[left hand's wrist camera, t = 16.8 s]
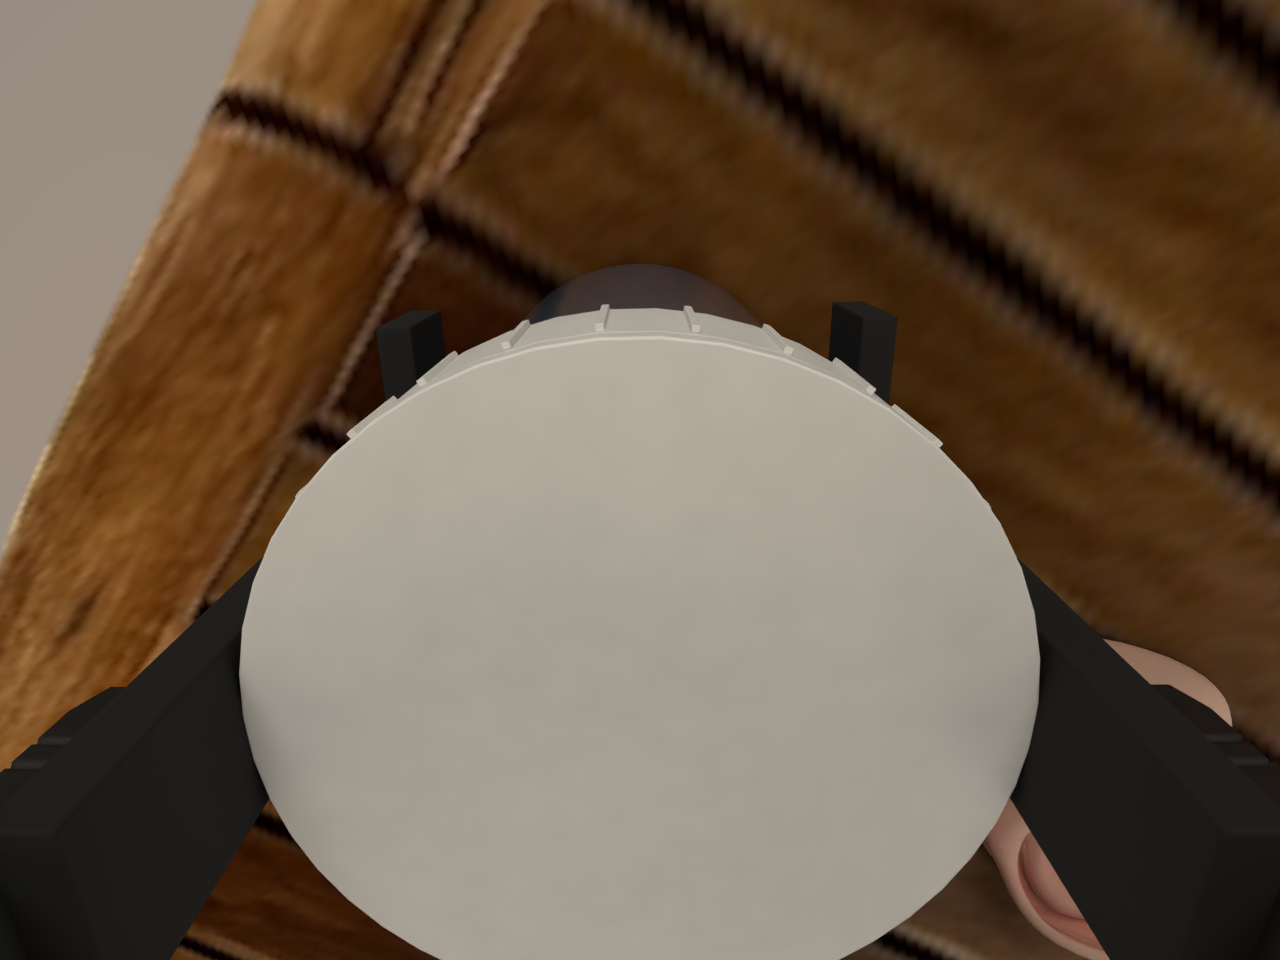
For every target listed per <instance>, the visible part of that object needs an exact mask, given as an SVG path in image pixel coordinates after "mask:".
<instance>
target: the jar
mask: <svg viewBox="0 0 1280 960" xmlns="http://www.w3.org/2000/svg"><path fill="white" fill-rule="evenodd" d="M606 304H609V307H610V309H646V308H659V309H668V310H677V311H683V310H684V306H691V307H692V309H693V311H694V312H695V313H704V314H709V315H713V316H717V317H721V318H725V319H729V320H733V321H737V322H741V323H745V324H749V325H753V326H756V327H759V328H761V329H762V327H763V325H762V324H761V323H760V322H759V321H758V320H757V319H756V318H755V317H754V316H753V315H752V314H751V313H750V312H749V311H748V310H747V309H746V307H745V306H744V305H743V304H742V303H741V302H740V301H738V300H737V299H736V298H734V297H733V296H732V295H731V294H729V293H728V292H727V291H725V290H724V289H723V288H721V287H719V286H717V285H716V284H714V283H712V282H710V281H709V280H707V279H705V278H702V277H700V276H698V275H695V274H693V273H690V272H688V271H684V270H680V269H676V268H672V267H669V266H661V265H653V264H625V265H619V266H612V267H606V268H603V269H599V270H596V271H593V272H589V273H586V274H584V275H582V276H580V277H577V278H575V279H573V280H571V281H569V282H567V283H565V284H564V285H562V286H560V287H559V288H557V289H556V290H554V291H553V292H551V293H550V294H549V295H547V296H546V297H545V298H544V299H543V300H541V301H540V302H539V303H538V304H537V305H536V306H535V307H534V308H533V309H532V310H531V311H530V312H529V313H528V314H527V315H526V316H525V317H524V318H523V319H522V320H521V321H520V322H519V323H518V324H517V325H516V326H515V327H514V328H513V329H512V330H514V329H515V328H516V327H517V326H518V325H519V324H520V323H521V322H522V321H525V320H529V322H530V325H532V324H535V323H539V322H542V321H545V320H549V319H552V318H555V317H561V316H567V315H574V314H580V313H586V312H593V311H599V310H600V309H601V306H602V305H606ZM512 330H511V331H512Z"/></svg>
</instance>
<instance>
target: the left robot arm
mask: <svg viewBox="0 0 1280 960" xmlns="http://www.w3.org/2000/svg"><path fill="white" fill-rule="evenodd" d="M263 557H264V556H263ZM263 557H262V558H261V559H260V560H259V561H258V562H257V563H256V564H255V565H254V566H253V567H252V568H251V569H250V570H249V571H248V572H247V573H245V574H244V575H243V576H242V577H241V578H240V579H239V580H238V581H237V582H236V583H235V584H234V585H233V586H232V587H231V588H230V589H229V590H228V591H227V592H225V593H224V594H223V595H222V596H221V597H220V598H219V599H218V600H217V601H216V602H215V603H214V604H213V605H212V606H211V607H210V608H209V609H208V610H207V611H206V612H204V613H203V614H202V615H201V616H200V617H199V618H198V619H197V620H196V621H195V622H194V623H193V624H192V625H191V626H190V627H189V628H188V629H187V630H186V631H184V632H183V633H182V634H181V635H180V636H179V637H178V638H177V639H176V640H175V641H174V642H173V643H172V644H171V645H170V646H169V647H168V648H167V649H166V650H164V651H163V652H162V653H161V654H160V655H159V656H158V657H157V658H156V659H155V660H154V661H153V662H152V663H151V664H150V665H149V666H148V667H147V668H146V669H144V670H143V671H142V672H141V673H140V674H139V675H138V676H137V677H136V678H135V679H134V680H133V681H132V682H131V683H130V684H129V685H128V686H127V687H110V688H108V689H107V690H105V691H103V692H101V693H100V694H98V695H96V696H94V697H93V698H91V699H89V700H87V701H86V702H84V703H82V704H80V705H79V706H77V707H75V708H73V709H72V710H70V711H69V712H67V713H66V714H65V715H64V716H63V717H62V718H61V719H60V720H59V721H57V722H56V723H55V724H54V725H53V726H52V727H51V728H50V729H49V730H47V731H46V732H45V733H44V734H43V735H42V736H41V737H40V738H39V739H38V743H37V745H31V746H30V747H28V748H27V749H26V750H25V751H24V752H23V753H22V754H21V755H20V756H18V757H17V758H16V759H15V760H14V761H13V762H12V766H11V768H10V769H4V770H3V771H2V772H1V773H0V960H170V959H171V957H172V955H173V954H174V952H175V951H176V949H177V947H178V946H179V944H180V942H181V941H182V939H183V938H184V936H185V934H186V933H187V931H188V929H189V928H190V926H191V925H192V923H193V921H194V920H195V918H196V916H197V915H198V913H199V912H200V910H201V908H202V907H203V905H204V904H205V902H206V900H207V899H208V897H209V895H210V894H211V892H212V891H213V889H214V887H215V886H216V884H217V882H218V881H219V879H220V878H221V876H222V874H223V873H224V871H225V870H226V868H227V866H228V865H229V863H230V861H231V860H232V858H233V857H234V855H235V853H236V852H237V850H238V848H239V847H240V845H241V844H242V842H243V840H244V839H245V837H246V836H247V834H248V832H249V831H250V829H251V827H252V826H253V824H254V823H255V821H256V819H257V818H258V816H259V814H260V813H261V811H262V810H263V808H264V806H265V805H266V803H267V801H268V800H269V796H268V793H267V791H266V788H265V786H264V784H263V781H262V779H261V776H260V774H259V772H258V769H257V767H256V764H255V762H254V759H253V755H252V751H251V747H250V743H249V739H248V735H247V731H246V727H245V723H244V718H243V711H242V701H241V690H240V679H239V668H240V653H241V639H242V627H243V623H244V618H245V614H246V610H247V606H248V601H249V597H250V593H251V589H252V584H253V581H254V579H255V576H256V574H257V572H258V569H259V567H260V564H261V562H262V559H263ZM1017 559H1018V558H1017ZM1018 562H1019V564H1020V566H1021V568H1022V571H1023V575H1024V578H1025V582H1026V585H1027V589H1028V592H1029V595H1030V599H1031V602H1032V606H1033V609H1034V612H1035V621H1036V629H1037V637H1038V645H1039V653H1040V678H1039V703H1038V708H1037V713H1036V718H1035V723H1034V728H1033V732H1032V737H1031V742H1030V746H1029V750H1028V753H1027V756H1026V759H1025V761H1024V764H1023V767H1022V770H1021V772H1020V775H1019V778H1018V781H1017V784H1016V786H1015V788H1014V790H1013V792H1012V794H1011V796H1010V799H1011V801H1012V802H1013V804H1014V806H1015V807H1016V809H1017V810H1018V812H1019V814H1020V815H1021V817H1022V818H1023V820H1024V822H1025V823H1026V825H1027V827H1028V828H1029V830H1030V831H1031V833H1032V835H1033V836H1034V838H1035V840H1036V841H1037V843H1038V844H1039V846H1040V848H1041V849H1042V851H1043V853H1044V854H1045V856H1046V857H1047V859H1048V861H1049V862H1050V864H1051V865H1052V867H1053V869H1054V870H1055V872H1056V874H1057V875H1058V877H1059V878H1060V880H1061V882H1062V883H1063V885H1064V887H1065V888H1066V890H1067V891H1068V893H1069V895H1070V896H1071V898H1072V899H1073V901H1074V903H1075V904H1076V906H1077V908H1078V909H1079V911H1080V912H1081V914H1082V916H1083V917H1084V919H1085V921H1086V922H1087V924H1088V925H1089V927H1090V929H1091V930H1092V932H1093V933H1094V935H1095V937H1096V938H1097V940H1098V942H1099V943H1100V945H1101V946H1102V948H1103V950H1104V951H1105V953H1106V955H1107V956H1108V958H1109V959H1110V960H1280V769H1279V768H1277V767H1276V766H1270V765H1269V760H1268V759H1267V758H1266V757H1265V756H1264V755H1263V754H1262V753H1261V752H1259V751H1258V750H1257V749H1256V748H1255V747H1254V746H1253V745H1252V744H1251V743H1249V742H1244V741H1243V739H1242V735H1240V734H1239V733H1238V732H1237V731H1236V730H1235V729H1234V728H1233V727H1231V726H1230V725H1229V724H1228V723H1227V722H1226V721H1225V720H1224V719H1222V718H1221V717H1220V716H1219V715H1218V714H1217V713H1216V712H1215V711H1213V710H1212V709H1211V708H1210V707H1208V706H1206V705H1204V704H1203V703H1201V702H1199V701H1197V700H1196V699H1194V698H1192V697H1190V696H1189V695H1187V694H1185V693H1183V692H1182V691H1180V690H1178V689H1176V688H1175V687H1173V686H1171V685H1169V684H1150V683H1149V682H1148V681H1147V680H1146V679H1144V678H1143V677H1142V676H1141V675H1140V674H1139V673H1138V672H1137V671H1136V670H1135V669H1134V668H1133V667H1132V666H1131V665H1130V664H1129V663H1128V662H1127V661H1126V660H1124V659H1123V658H1122V657H1121V656H1120V655H1119V654H1118V653H1117V652H1116V651H1115V650H1114V649H1113V648H1112V647H1111V646H1110V645H1109V644H1108V643H1107V642H1106V641H1104V640H1103V639H1102V638H1101V637H1100V636H1099V635H1098V634H1097V633H1096V632H1095V631H1094V630H1093V629H1092V628H1091V627H1090V626H1089V625H1088V624H1087V623H1086V622H1084V621H1083V620H1082V619H1081V618H1080V617H1079V616H1078V615H1077V614H1076V613H1075V612H1074V611H1073V610H1072V609H1071V608H1070V607H1069V606H1068V605H1067V604H1066V603H1064V602H1063V601H1062V600H1061V599H1060V598H1059V597H1058V596H1057V595H1056V594H1055V593H1054V592H1053V591H1052V590H1051V589H1050V588H1049V587H1048V586H1047V585H1046V584H1045V583H1043V582H1042V581H1041V580H1040V579H1039V578H1038V577H1037V576H1036V575H1035V574H1034V573H1033V572H1032V571H1031V570H1030V569H1029V568H1028V567H1027V566H1026V565H1025V564H1023V563H1022V562H1021V561H1020V560H1019V559H1018Z"/></svg>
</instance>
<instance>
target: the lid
mask: <svg viewBox="0 0 1280 960" xmlns="http://www.w3.org/2000/svg"><path fill="white" fill-rule="evenodd" d="M416 382H417V384H416V385H415V386H414V387H412V388H411V389H410V390H409V391H407V392H406V393H405V394H404V395H403V396H401V397H400V398H399V399H397V398H396V397H395V396H392V397H391V398H390V399H389V400H387V401H386V402H385V403H384V404H382V405H381V406H380V407H379V408H377V409H376V410H375V411H374V412H372V413H371V414H370V415H369V416H367V417H366V418H365V419H364V420H362V421H361V422H360V423H359V424H357V425H356V426H355V427H354V428H352V429H351V430H350V431H349V432H348V433H347V435H348V436H349V437H350V438H351V439H350V440H349V441H348V442H347V443H346V444H345V445H343V446H342V447H341V448H340V449H339V450H338V451H337V452H335V453H334V454H333V455H332V456H331V457H330V458H329V459H328V461H327V462H326V463H325V464H324V465H323V466H322V468H321V469H320V470H319V471H318V472H317V473H316V475H315V476H314V477H313V478H312V479H311V480H310V482H309V483H308V484H307V485H306V486H305V487H303V488H302V489H301V490H300V491H299V492H298V493H297V495H296V496H295V498H296V499H295V501H294V502H293V504H292V505H291V507H290V509H289V510H288V512H287V514H286V515H285V517H284V518H283V520H282V522H281V523H280V525H279V527H278V528H277V530H276V531H275V533H274V535H273V536H272V538H271V540H270V543H269V545H268V547H267V550H266V552H265V555H264V557H263V559H262V562H261V564H260V567H259V569H258V572H257V574H256V576H255V579H254V581H253V584H252V589H251V593H250V597H249V601H248V606H247V610H246V614H245V618H244V623H243V627H242V639H241V653H240V668H239V679H240V690H241V701H242V711H243V718H244V723H245V727H246V731H247V735H248V739H249V743H250V747H251V751H252V755H253V759H254V762H255V764H256V767H257V769H258V772H259V774H260V776H261V779H262V781H263V784H264V786H265V788H266V791H267V793H268V796H269V798H270V800H271V802H272V804H273V805H274V807H275V809H276V810H277V812H278V814H279V815H280V817H281V819H282V820H283V822H284V824H285V826H286V827H287V829H288V831H289V832H290V834H291V836H292V837H293V838H294V840H295V841H296V842H297V843H298V845H299V846H300V847H301V849H302V850H303V851H304V852H305V854H306V855H307V856H308V857H309V859H310V860H311V861H312V863H313V864H314V865H315V866H316V868H317V869H318V870H319V871H320V872H321V873H322V874H323V875H324V876H325V877H326V878H327V879H328V880H329V881H330V882H331V883H332V884H333V885H334V886H335V887H336V888H337V889H338V890H339V891H340V892H341V893H342V894H343V895H344V896H345V897H346V898H347V899H348V900H349V901H351V902H352V903H353V904H354V905H356V906H357V907H358V908H359V909H361V910H362V911H363V912H365V913H366V914H367V915H368V916H370V917H371V918H372V919H373V920H375V921H376V922H377V923H379V924H380V925H381V926H383V927H384V928H386V929H387V930H389V931H391V932H392V933H394V934H395V935H397V936H399V937H400V938H402V939H403V940H405V941H407V942H408V943H410V944H411V945H413V946H415V947H416V948H418V949H420V950H422V951H424V952H426V953H428V954H430V955H432V956H434V957H436V958H438V959H440V960H840V959H842V958H844V957H845V956H847V955H849V954H851V953H853V952H855V951H857V950H859V949H860V948H862V947H864V946H866V945H868V944H870V943H872V942H874V941H875V940H877V939H878V938H880V937H881V936H883V935H884V934H886V933H887V932H888V931H890V930H891V929H893V928H894V927H896V926H897V925H899V924H900V923H902V922H903V921H905V920H906V919H908V918H909V917H910V916H912V915H913V914H914V913H915V912H916V911H917V910H919V909H920V908H921V907H922V906H923V905H925V904H926V903H927V902H928V901H929V900H930V899H932V898H933V897H934V896H935V895H936V894H937V893H939V892H940V891H941V890H942V889H943V888H944V887H945V886H946V885H947V884H948V883H949V881H950V880H951V879H952V878H953V877H954V876H955V875H956V874H957V873H958V872H959V871H960V870H961V869H962V867H963V866H964V865H965V864H966V863H967V862H968V861H969V860H970V859H971V858H972V856H973V855H974V853H975V852H976V851H977V849H978V848H979V846H980V845H981V844H982V842H983V841H984V839H985V838H986V837H987V835H988V834H989V832H990V831H991V830H992V828H993V827H994V825H995V824H996V822H997V820H998V818H999V817H1000V815H1001V813H1002V811H1003V809H1004V807H1005V805H1006V803H1007V801H1008V800H1009V798H1010V796H1011V794H1012V792H1013V790H1014V788H1015V786H1016V784H1017V781H1018V778H1019V775H1020V772H1021V770H1022V767H1023V764H1024V761H1025V759H1026V756H1027V753H1028V750H1029V746H1030V742H1031V737H1032V732H1033V728H1034V723H1035V718H1036V713H1037V708H1038V703H1039V678H1040V653H1039V645H1038V637H1037V629H1036V621H1035V612H1034V609H1033V606H1032V602H1031V599H1030V595H1029V592H1028V589H1027V585H1026V582H1025V578H1024V575H1023V571H1022V568H1021V566H1020V564H1019V562H1018V559H1017V557H1016V555H1015V553H1014V551H1013V549H1012V547H1011V545H1010V543H1009V541H1008V539H1007V536H1006V534H1005V532H1004V530H1003V528H1002V526H1001V524H1000V522H999V521H998V519H997V518H996V517H995V515H994V514H993V512H992V511H991V507H990V505H989V504H988V502H986V501H985V500H984V499H983V498H982V496H981V495H980V493H979V492H978V491H977V489H976V488H975V486H974V485H973V483H972V482H971V481H970V480H969V479H968V478H967V477H966V475H965V474H964V473H963V472H962V471H961V470H960V469H959V468H958V467H957V466H956V465H955V464H954V463H953V462H952V461H951V460H950V459H949V458H948V457H947V455H946V454H945V453H944V452H943V451H942V450H941V449H940V448H939V447H941V446H942V445H943V443H942V442H941V441H940V440H939V439H938V438H937V437H935V436H934V435H933V434H932V433H930V432H929V431H928V430H927V429H925V428H924V427H923V426H922V425H920V424H919V423H918V422H917V421H915V420H914V419H913V418H912V417H910V416H909V415H908V414H907V413H905V412H904V411H903V410H902V409H900V408H899V407H898V406H897V405H895V404H894V405H893V406H892V407H891V406H889V405H888V404H887V403H886V402H884V401H883V400H882V399H881V398H880V397H878V396H877V395H876V394H875V393H874V392H875V391H876V388H874V387H873V386H872V385H871V384H869V383H868V382H867V381H866V380H864V379H863V378H862V377H861V376H859V375H858V374H857V373H856V372H854V371H853V370H852V369H851V368H849V367H848V366H847V365H846V364H844V363H843V362H842V361H841V360H839V359H838V358H835V359H834V360H833V362H831V361H829V360H827V359H825V358H824V357H822V356H820V355H818V354H817V353H815V352H813V351H811V350H810V349H808V348H806V347H804V346H803V345H801V344H799V343H796V342H794V341H791V340H789V339H786V338H784V337H781V336H780V335H779V334H778V333H777V332H776V331H775V330H774V329H773V328H772V327H771V326H770V325H767V324H763V327H762V329H761V328H759V327H756V326H753V325H749V324H745V323H741V322H737V321H733V320H729V319H725V318H721V317H717V316H713V315H709V314H704V313H695V312H694V311H693V309H692V307H691V306H684V310H683V311H677V310H668V309H659V308H646V309H610V307H609V304H606V305H602V306H601V309H600V310H599V311H593V312H586V313H580V314H574V315H567V316H561V317H555V318H552V319H549V320H545V321H542V322H539V323H535V324H532V325H530V322H529V320H525V321H522V322H521V323H520V324H519V325H518V326H517V327H516V328H515V329H514V330H512V331H509V332H507V333H504V334H502V335H500V336H498V337H496V338H493V339H491V340H489V341H487V342H485V343H482V344H480V345H478V346H476V347H474V348H471V349H469V350H467V351H465V352H463V353H462V354H460V355H459V356H458V354H457V353H456V351H454V352H452V353H450V354H449V355H448V356H446V357H445V358H444V359H443V360H442V361H440V362H439V363H438V364H437V365H435V366H434V367H433V368H432V369H430V370H429V371H428V372H427V373H426V374H424V375H423V376H422V377H421V378H419V379H418V380H417V381H416Z"/></svg>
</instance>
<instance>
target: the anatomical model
mask: <svg viewBox="0 0 1280 960" xmlns="http://www.w3.org/2000/svg"><path fill="white" fill-rule="evenodd" d="M1103 640H1104V641H1106V642H1107V643H1108V644H1109V645H1110V646H1111V647H1112V648H1113V649H1114V650H1115V651H1116V652H1117V653H1118V654H1119V655H1120V656H1121V657H1122V658H1123V659H1124V660H1126V661H1127V662H1128V663H1129V664H1130V665H1131V666H1132V667H1133V668H1134V669H1135V670H1136V671H1137V672H1138V673H1139V674H1140V675H1141V676H1142V677H1143V678H1144V679H1146V680H1147V681H1148V682H1149V683H1150V684H1169V685H1171V686H1173V687H1175V688H1176V689H1178V690H1180V691H1182V692H1183V693H1185V694H1187V695H1189V696H1190V697H1192V698H1194V699H1196V700H1197V701H1199V702H1201V703H1203V704H1204V705H1206V706H1208V707H1210V708H1211V709H1212V710H1213V711H1215V712H1216V713H1217V714H1218V715H1219V716H1220V717H1221V718H1222V719H1224V720H1225V721H1226V722H1227V723H1228V724H1229V725H1230V726H1231V727H1232V720H1231V715H1230V710H1229V707H1228V704H1227V702H1226V700H1225V698H1224V697H1223V695H1222V694H1221V692H1220V691H1219V690H1218V689H1217V688H1216V687H1215V686H1214V684H1212V683H1211V682H1210V681H1209V680H1208V679H1207V678H1205V677H1204V676H1202V675H1201V674H1199V673H1198V672H1196V671H1194V670H1193V669H1191V668H1190V667H1188V666H1186V665H1184V664H1182V663H1180V662H1178V661H1175V660H1173V659H1171V658H1169V657H1166V656H1163V655H1161V654H1158V653H1155V652H1152V651H1149V650H1146V649H1143V648H1140V647H1136V646H1132V645H1129V644H1125V643H1122V642H1117V641H1112V640H1106V639H1103ZM982 843H983V845H984V847H985V848H986V850H987V851H988V852H989V854H990V855H991V856H992V858H993V859H994V861H995V863H996V865H997V867H998V870H999V872H1000V874H1001V877H1002V879H1003V881H1004V883H1005V886H1006V888H1007V890H1008V892H1009V894H1010V896H1011V898H1012V899H1013V901H1014V903H1015V905H1016V906H1017V908H1018V909H1019V910H1020V912H1021V913H1022V914H1023V916H1024V917H1025V918H1026V919H1027V921H1028V922H1029V923H1030V924H1031V925H1032V926H1033V927H1034V928H1036V929H1037V930H1038V931H1039V932H1040V933H1041V934H1043V935H1044V936H1045V937H1047V938H1048V939H1050V940H1051V941H1053V942H1054V943H1056V944H1058V945H1059V946H1061V947H1063V948H1065V949H1067V950H1069V951H1071V952H1073V953H1075V954H1077V955H1080V956H1082V957H1085V958H1088V959H1090V960H1110V959H1109V958H1108V956H1107V955H1106V953H1105V951H1104V950H1103V948H1102V946H1101V945H1100V943H1099V942H1098V940H1097V938H1096V937H1095V935H1094V933H1093V932H1092V930H1091V929H1090V927H1089V925H1088V924H1087V922H1086V921H1085V919H1084V917H1083V916H1082V914H1081V912H1080V911H1079V909H1078V908H1077V906H1076V904H1075V903H1074V901H1073V899H1072V898H1071V896H1070V895H1069V893H1068V891H1067V890H1066V888H1065V887H1064V885H1063V883H1062V882H1061V880H1060V878H1059V877H1058V875H1057V874H1056V872H1055V870H1054V869H1053V867H1052V865H1051V864H1050V862H1049V861H1048V859H1047V857H1046V856H1045V854H1044V853H1043V851H1042V849H1041V848H1040V846H1039V844H1038V843H1037V841H1036V840H1035V838H1034V836H1033V835H1032V833H1031V831H1030V830H1029V828H1028V827H1027V825H1026V823H1025V822H1024V820H1023V818H1022V817H1021V815H1020V814H1019V812H1018V810H1017V809H1016V807H1015V806H1014V804H1013V802H1012V801H1011V799H1010V798H1009V800H1008V801H1007V803H1006V805H1005V807H1004V809H1003V811H1002V813H1001V815H1000V817H999V818H998V820H997V822H996V824H995V825H994V827H993V828H992V830H991V831H990V832H989V834H988V835H987V837H986V838H985V839H984V841H983V842H982Z"/></svg>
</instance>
